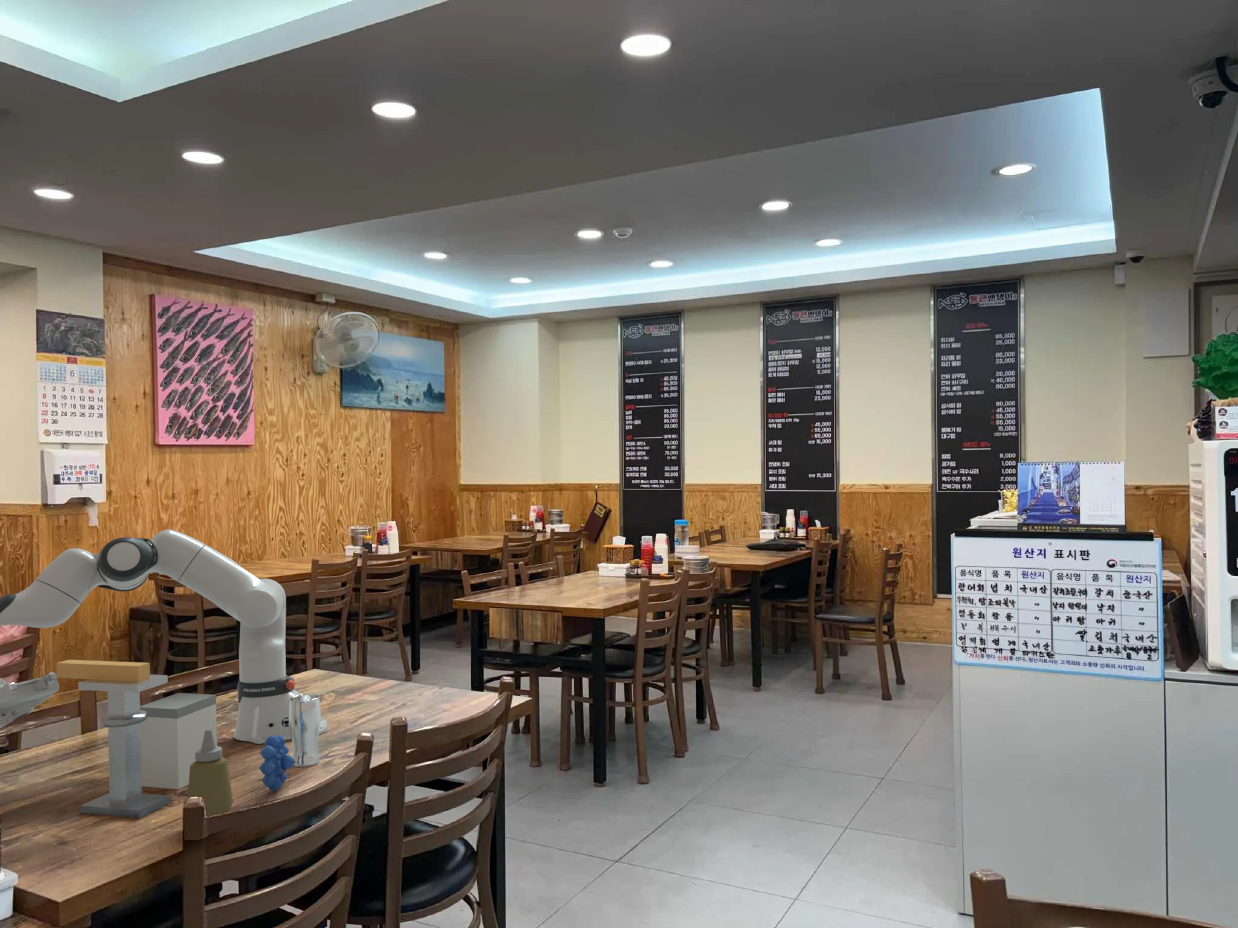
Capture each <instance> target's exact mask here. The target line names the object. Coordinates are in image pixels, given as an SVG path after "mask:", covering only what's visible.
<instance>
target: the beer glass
mask: <svg viewBox="0 0 1238 928" xmlns="http://www.w3.org/2000/svg"><path fill="white" fill-rule="evenodd" d="M321 714H322V712H321V702H320V695H319V694H315V693H314V694H313V693H307V694H305V693H304V694H303V693H302V695H297V696H294V697H291V698H290V699H289V727H290V733H291V738H292V739H291V741H292V757H293V759H294V760H295V764H294V765H293V766H292V767H295V768H305V767H306V768H307V767H312V766H315V765H317V764H319V763H320V762H321V761H320V759H321V758H320V754H319V749H318V744H319V735H320V734H319V730H320V721H321V718H322V717H321V716H322V715H321Z"/></svg>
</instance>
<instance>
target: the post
mask: <svg viewBox="0 0 1238 928" xmlns="http://www.w3.org/2000/svg"><path fill="white" fill-rule="evenodd" d="M168 678H169V677H168V675H166V674H150V678H148V679H145V680H141V681H118V680H97V679H83V680H82V681H78V682H77V683H78V684H77V685H78V691H79V690H81V691H94V692H95V691H96V692H98V691H99V692H100V691H101V692H107V714H106V715H105V714H104V716H102V717H101V718H100V721H101V722H100V723H101V724H100V725H101V726H102V727H104V728H108V729H107V731H108V732H107V733H108V734H107V735H108V736H107V737H108V738H107V739H108V741H107V742H108V781H109V782H108V785H109V787H108V788H109V790H108V791H109V792H108V793H107V792H106V793H105V794H104V795H101V796H99V797H96V798H95V799H91V800H90V801H88V802H85V803H83V804H81V805H80V813H81V814H87V815H97V814H99V816H108V815H113V816H112V817H119V818H129V817H133V818H132V819H141V817H142V818H143V817H146V816H147V814H148V815H149V814H151V812H152V813H153V811H154V812H156V811H157V810H159V809H161V808H163V807H165V806H167V805H169V804H171V795H166V794H156V793H155V794H152V793H143V788H142V787H143V786H142V777H141V728H140V723H141V722H143V721H145V720H146V719H147V712H146V711H143V710H140V706H141V694H140V693H141V692H144V691H147V690H149V689H150V690H151V689H152V688H156V687H158V686H162V685H165V684H168V680H169V679H168ZM166 804H167V805H166ZM100 814H102V815H100ZM145 815H146V816H145Z"/></svg>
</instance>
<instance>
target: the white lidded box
mask: <svg viewBox="0 0 1238 928" xmlns="http://www.w3.org/2000/svg"><path fill="white" fill-rule="evenodd" d="M140 710H143V711H146V712H147V719H146V720H145V721H143V722H141V723H140V728H141V777H142V787H143V788H144V787H147V788H160V789H169V790H181V789H182V788H184V787H186V786H188V785H189V774H190V766H191V764H192V763H193V762H195V761H196V760H195V752H196V750H198V749H200V748H202V743H203V738H204V733H205V730H212V733H213V737H214V740H215V744H216V746H218V734H217V731H218V730H217V729H218V728H217V727H218V726H217V722H218V721H217V694H206V693H186V692H178V693H175V694H172V695H169V696H165V697H163V698H160V699H156V700H154V701H152V702H149V703H146V704H143V705H140Z"/></svg>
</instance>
